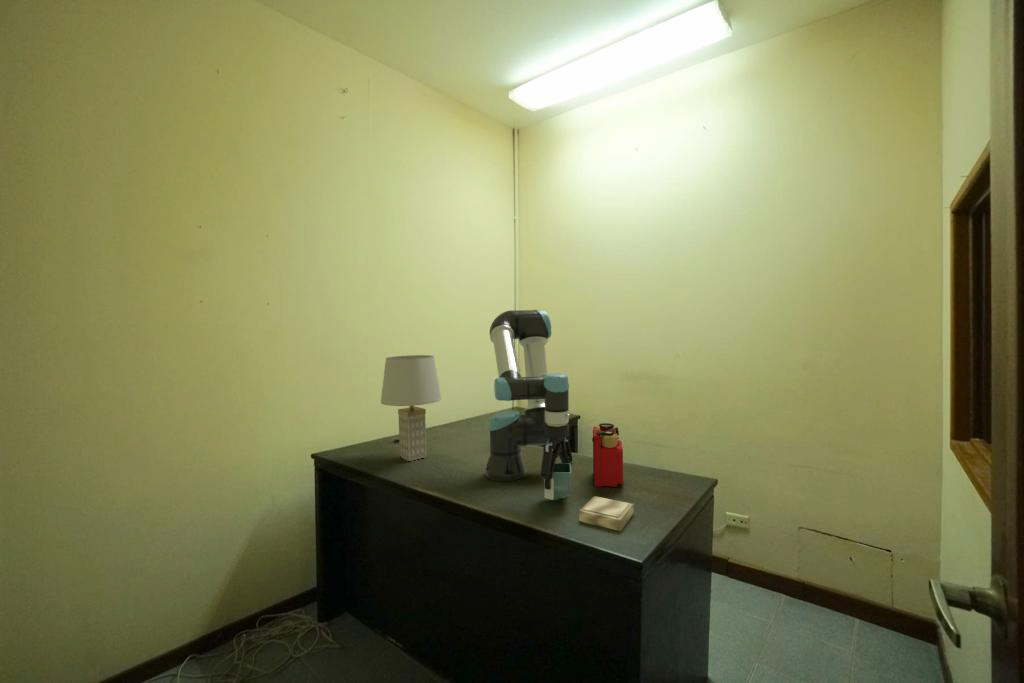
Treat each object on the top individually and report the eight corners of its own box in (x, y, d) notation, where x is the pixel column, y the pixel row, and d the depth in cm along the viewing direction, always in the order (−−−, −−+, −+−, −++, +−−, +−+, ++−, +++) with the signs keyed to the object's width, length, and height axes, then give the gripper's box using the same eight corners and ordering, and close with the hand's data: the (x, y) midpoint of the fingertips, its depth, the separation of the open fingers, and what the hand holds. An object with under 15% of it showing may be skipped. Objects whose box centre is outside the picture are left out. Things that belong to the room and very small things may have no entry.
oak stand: (579, 521, 122) (579, 509, 122) (594, 505, 132) (594, 495, 132) (620, 531, 116) (620, 519, 115) (633, 514, 126) (633, 502, 126)
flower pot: (544, 488, 141) (543, 462, 140) (571, 489, 140) (570, 462, 139) (543, 500, 132) (542, 472, 132) (571, 501, 131) (571, 472, 131)
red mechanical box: (623, 488, 145) (622, 430, 144) (592, 487, 147) (592, 429, 146) (621, 473, 160) (620, 420, 160) (593, 471, 162) (592, 419, 162)
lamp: (372, 458, 185) (369, 357, 183) (423, 446, 202) (420, 354, 200) (400, 472, 166) (397, 360, 165) (454, 457, 183) (451, 356, 182)
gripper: (550, 434, 123) (551, 508, 124) (582, 416, 142) (582, 481, 144) (527, 430, 127) (528, 503, 128) (561, 414, 146) (562, 477, 148)
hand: (557, 491), depth 136 cm, fingers closed on flower pot, 11 cm apart
